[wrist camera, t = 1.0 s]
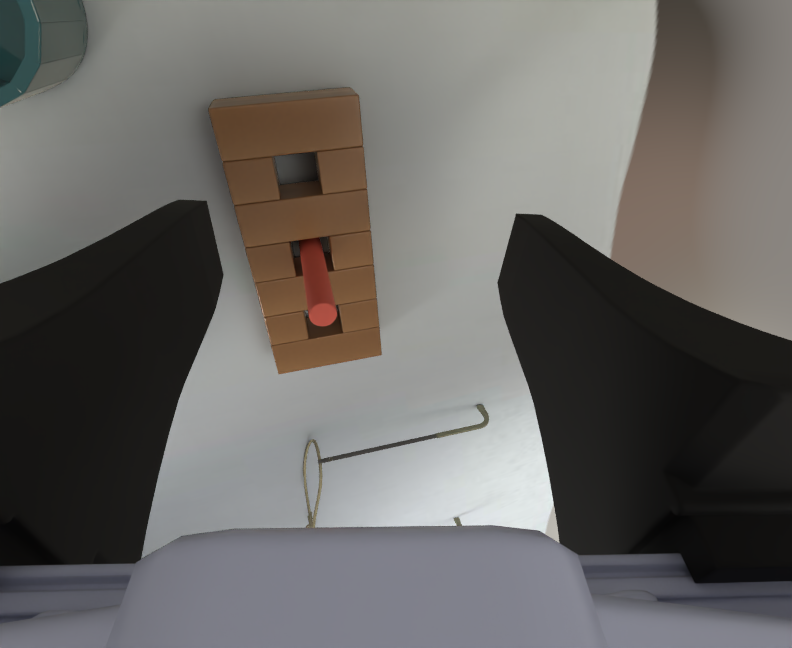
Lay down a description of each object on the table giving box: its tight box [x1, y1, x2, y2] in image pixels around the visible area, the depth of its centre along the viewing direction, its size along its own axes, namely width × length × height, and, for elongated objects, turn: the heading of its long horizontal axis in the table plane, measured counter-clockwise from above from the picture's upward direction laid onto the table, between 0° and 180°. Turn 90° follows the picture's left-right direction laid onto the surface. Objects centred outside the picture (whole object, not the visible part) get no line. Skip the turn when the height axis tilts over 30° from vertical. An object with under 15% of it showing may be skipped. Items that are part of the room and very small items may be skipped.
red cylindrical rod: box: [298, 237, 337, 326], centre depth 22 cm, size 1×1×8 cm
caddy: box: [208, 87, 382, 374], centre depth 24 cm, size 15×6×2 cm, turn 2°
